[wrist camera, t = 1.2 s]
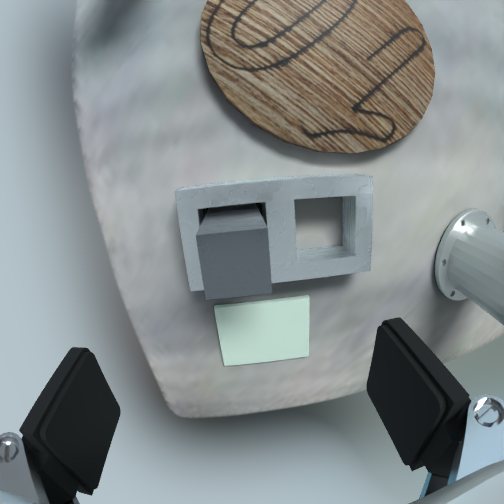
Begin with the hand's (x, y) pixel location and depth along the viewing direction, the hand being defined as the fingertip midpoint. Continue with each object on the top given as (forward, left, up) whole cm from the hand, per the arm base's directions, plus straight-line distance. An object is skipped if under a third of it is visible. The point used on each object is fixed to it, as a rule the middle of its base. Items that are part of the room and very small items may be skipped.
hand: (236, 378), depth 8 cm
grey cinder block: (-4, 0, -20) cm, 21 cm away
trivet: (-11, -19, -21) cm, 30 cm away
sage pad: (-2, +12, -20) cm, 24 cm away
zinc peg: (0, 0, -20) cm, 20 cm away
